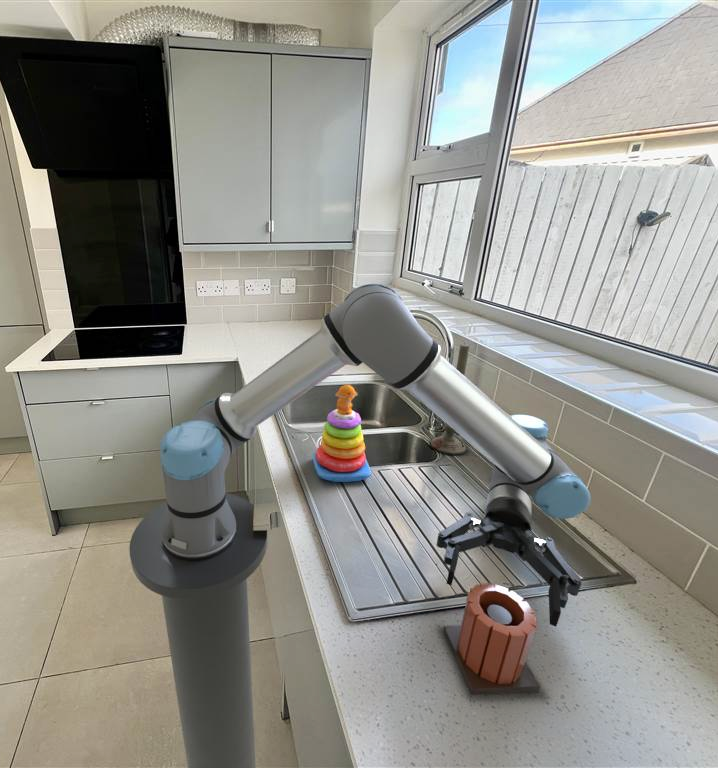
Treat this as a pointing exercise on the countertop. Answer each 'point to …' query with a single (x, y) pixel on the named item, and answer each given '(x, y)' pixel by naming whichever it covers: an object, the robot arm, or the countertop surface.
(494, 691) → the ring holder
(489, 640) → the ring
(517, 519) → the robot arm
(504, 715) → the countertop surface
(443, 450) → the candlestick holder
